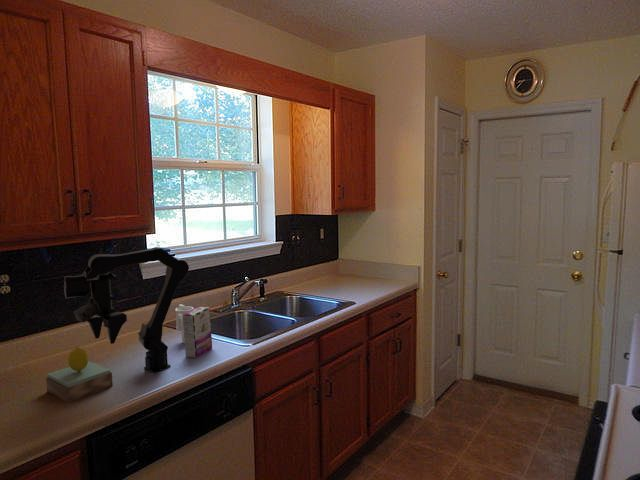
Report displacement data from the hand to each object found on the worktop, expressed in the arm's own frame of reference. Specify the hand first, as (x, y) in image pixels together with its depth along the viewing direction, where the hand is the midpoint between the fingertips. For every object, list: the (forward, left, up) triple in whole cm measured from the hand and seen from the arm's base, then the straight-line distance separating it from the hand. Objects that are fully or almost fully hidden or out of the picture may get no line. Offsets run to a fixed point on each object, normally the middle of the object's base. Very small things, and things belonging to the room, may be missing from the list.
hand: (104, 340), depth 153 cm
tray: (+9, 0, -13) cm, 16 cm away
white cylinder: (-38, -8, -13) cm, 41 cm away
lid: (+9, 0, -8) cm, 12 cm away
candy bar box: (-33, +6, -13) cm, 36 cm away
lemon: (+9, 0, -8) cm, 12 cm away
